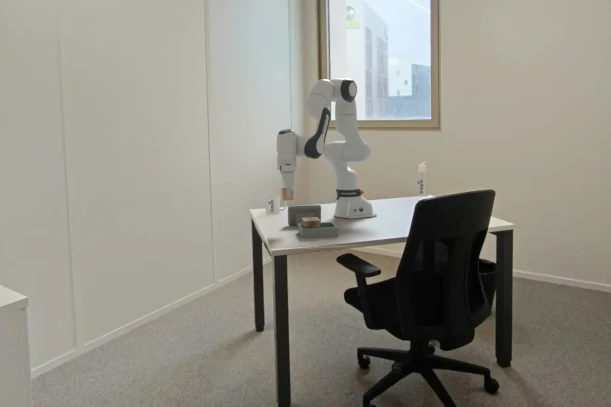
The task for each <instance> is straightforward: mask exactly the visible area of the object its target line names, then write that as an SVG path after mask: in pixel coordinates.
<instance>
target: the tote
mask: <svg viewBox="0 0 611 407" xmlns="http://www.w3.org/2000/svg"><path fill="white" fill-rule="evenodd" d="M297 227H298V228H297V229H298V230H297V231H298V234H299V236H300V237H301V239H312V238H314V239H315V238H330V237H331V238H333V237H339V227H338V225H337V224H336V223H335V222H333V221H326V222H325V221H324V222H322V221H321V222H320V228H305V229H304V228H303V227H302V223H299V224H298V226H297Z"/></svg>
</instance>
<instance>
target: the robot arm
mask: <svg viewBox="0 0 611 407" xmlns="http://www.w3.org/2000/svg"><path fill="white" fill-rule="evenodd" d="M357 93H358V85H357V83H356V82H355V81H354V80H353V79H350V78H331V79H323V78H321V79H318V80H317V81H316V82H315V83H314V84H313V87H312V88H311V90H310V91H309V94H308V96H307V98H306V100H305V103H304V108H305V111H306V113H307V114H308V116H310V117H311V118H312V119H314V120H316V121H317V122H316V126H315V129H314V132H313V134H312V135H310V136H306V135H305V136H303V135H299V134H297V133H296V132H295V130H294V129H290V128H287V129H282V130H279V132H278V133H277V136H276V152H277V158H276V170H277V171H279V173H280V174H281V183H282V185H283V188H286V197H290V193H291V189H293V190H294V186H295V175H296V174H295V172H296V171H297V168H298V167H297V165H298V164H297V163H298V162H297V158H308V159H313V160H317V159H319V158H320V157H322V155H324V156H323V157H324V158H325V159H326V160H327V161H328V162H329V163H330V164H331V166H332V167H333V170H334V173H335V177H336V188H335V200H336V202H335V203H336V204H335V209H334V210H335V211H334V213H333V216H334V217H336V218H346V219H360V218H371V217H377V216H378V213H377V212H376V211H375V210H373V205H372V203H371V201H369V200H368V199H367V198H365V197H364V196H363V195H364V193H365V191H364V190H363V189H360V188H359V175H358V173H357V172H356V171H355V170H354V169H352V168H351V167H350V165H349V163H355V164H357V163H358V164H359V163H365V162H367V161H369V159H370V158H371V155H372V149H371V146H370V145H369V143H368V142H366V141H365V140H364V139H363V137H362V136H361V134H360V130H359V128H358V127H359V126H358V116H357V103H356V96H357ZM331 102H335V107H334V119H335V120H334V123H335V130H336V131H337V132H338V133H339V134H340V135H342V136H343V137H344V139H345V140H333V141H328V142H327V143H326V138H327V135H328V129H329V126H330V121H331V111H330V110H329V109H330V106H331V105H330V104H331Z"/></svg>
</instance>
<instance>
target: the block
mask: <svg viewBox="0 0 611 407" xmlns="http://www.w3.org/2000/svg"><path fill="white" fill-rule="evenodd" d="M302 227H303V228H304V229H305V228H320V220H319V218H318V217H307V218H302Z"/></svg>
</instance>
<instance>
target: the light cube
mask: <svg viewBox="0 0 611 407" xmlns="http://www.w3.org/2000/svg"><path fill="white" fill-rule="evenodd" d="M280 189H281V200H282V202H285V201H287V202H288V201H294V200H295V199H294V197H295V196H294V188H293V189H291V193H290V197H286V188H284V187H281V188H280Z"/></svg>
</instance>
